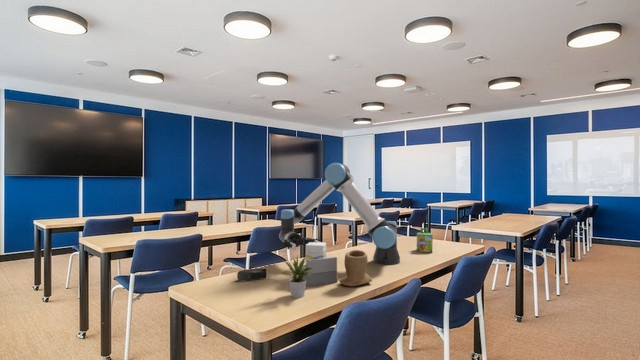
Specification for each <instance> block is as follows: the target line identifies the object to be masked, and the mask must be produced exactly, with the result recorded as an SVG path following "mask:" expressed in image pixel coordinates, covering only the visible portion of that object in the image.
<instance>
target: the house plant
mask: <svg viewBox="0 0 640 360" xmlns="http://www.w3.org/2000/svg"><path fill="white" fill-rule="evenodd" d="M288 260H289V258H286V259H285V260H282V262H284V263H285V264H286V265H287V266H288V269H289V270H290V271H291V272H292V274H290V272H288V271H284V272H283V273H282V274H283V275H284V276H291V277H292V278H290V279H289V280H288V284H289V285H288V286H289V290H290V291H289V292H290V296H291V297H292V298H295V299H298V298H303V297H305V290H306V279H304V278H303V277H304V276H305V275H309V276H310V274H307V273H311V274H313V273H312V272H306V271H307V270H310V269H315V268H306V269H305V268H304V267H305V266H306V265H307V264H308V263H309V262H310V261H309V262H308V263H307V264H306V256H305V257H304V258H302V260H301V261H300V262H299V255H297V256H296V259H295V258H294V257H293V262H289V261H288ZM311 261H312V260H311ZM291 263H292V265H291ZM302 266H304V267H302ZM302 268H303V269H304V270H303V269H302ZM301 270H302V271H301ZM305 272H306V274H305Z"/></svg>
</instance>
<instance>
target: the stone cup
mask: <svg viewBox="0 0 640 360" xmlns="http://www.w3.org/2000/svg"><path fill="white" fill-rule="evenodd" d="M368 261H369V259H368V254H367V253H366V252H365V251H363V250H358V249H355V250H354V249H352V250H350V251H348V252H346V253H345V255H344V261H343V262H344V267H345V273H346V276H345V277H342V278H340V279H339V280H338V282H339V283H340V284H341V285H344V286H346V287H356V286H357V287H358V286H360V285H361V286H362V285H364V284H368V283H371V282H373V279H372V278H371V276H370V275H369V274H368V273H366V269H367V266H368Z"/></svg>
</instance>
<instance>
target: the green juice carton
mask: <svg viewBox="0 0 640 360" xmlns="http://www.w3.org/2000/svg"><path fill="white" fill-rule="evenodd" d="M433 239H434V238H433V234H432V233H431V232H429V229H428V228H427V227H425V228H424V227H421V228H420V232H416V251H417V253H430V254H431V253H433Z"/></svg>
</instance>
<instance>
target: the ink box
mask: <svg viewBox="0 0 640 360" xmlns="http://www.w3.org/2000/svg"><path fill="white" fill-rule="evenodd" d="M305 257H306V258H305V265H306V264H307V260H310V259H320V258H327V243H326V242H323V241H320V242H309V243H308V244H306V245H305ZM306 268H307V265H306Z"/></svg>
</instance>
